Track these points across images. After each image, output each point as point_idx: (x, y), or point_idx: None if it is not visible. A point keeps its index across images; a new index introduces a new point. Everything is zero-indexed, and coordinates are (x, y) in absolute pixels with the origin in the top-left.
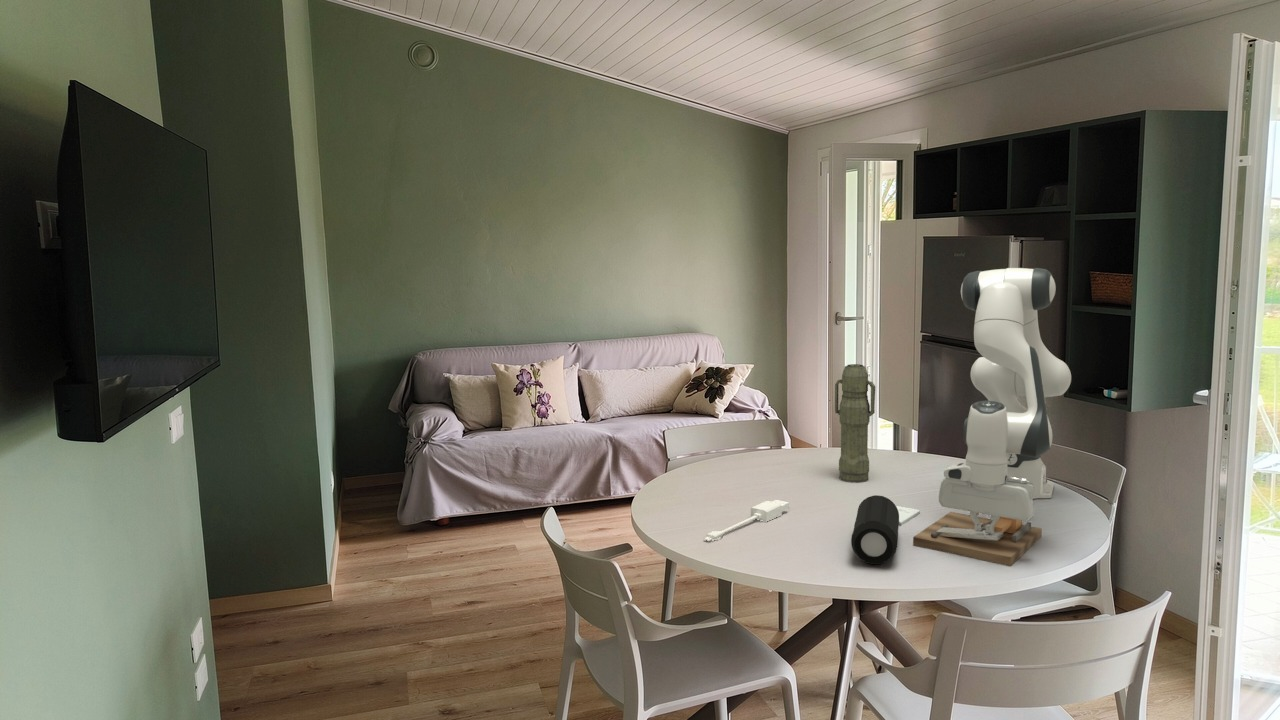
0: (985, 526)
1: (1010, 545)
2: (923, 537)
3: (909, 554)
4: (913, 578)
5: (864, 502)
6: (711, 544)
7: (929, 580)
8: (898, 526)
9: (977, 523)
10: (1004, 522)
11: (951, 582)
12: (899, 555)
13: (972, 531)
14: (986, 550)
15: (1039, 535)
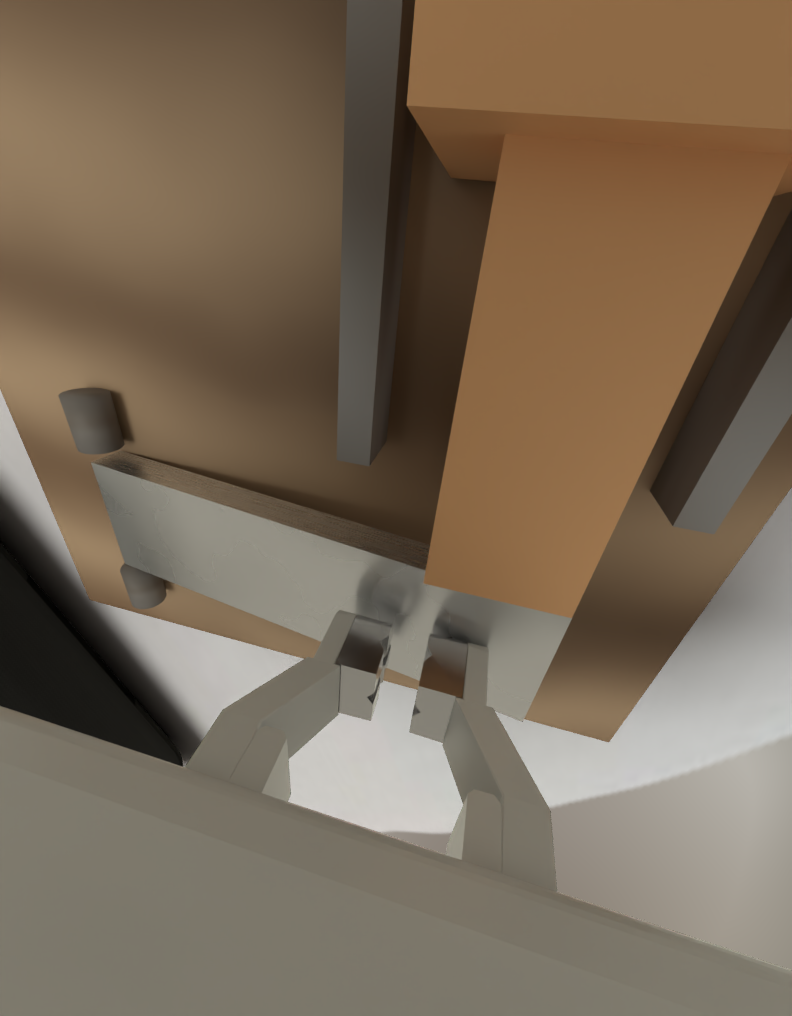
0: (411, 725)
1: (624, 571)
2: (123, 592)
3: (181, 661)
4: (294, 801)
5: None
6: None
7: (335, 808)
8: (7, 689)
9: (334, 714)
10: (609, 395)
11: (394, 816)
12: (164, 676)
13: (317, 589)
14: None
15: None
